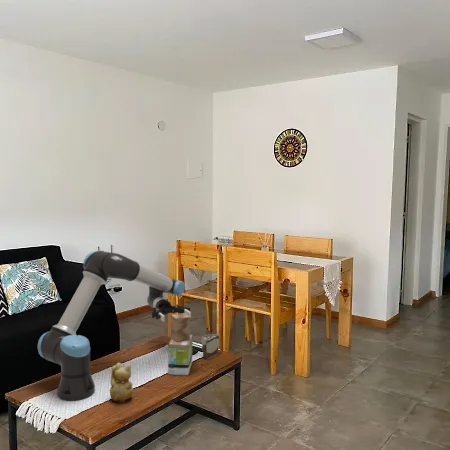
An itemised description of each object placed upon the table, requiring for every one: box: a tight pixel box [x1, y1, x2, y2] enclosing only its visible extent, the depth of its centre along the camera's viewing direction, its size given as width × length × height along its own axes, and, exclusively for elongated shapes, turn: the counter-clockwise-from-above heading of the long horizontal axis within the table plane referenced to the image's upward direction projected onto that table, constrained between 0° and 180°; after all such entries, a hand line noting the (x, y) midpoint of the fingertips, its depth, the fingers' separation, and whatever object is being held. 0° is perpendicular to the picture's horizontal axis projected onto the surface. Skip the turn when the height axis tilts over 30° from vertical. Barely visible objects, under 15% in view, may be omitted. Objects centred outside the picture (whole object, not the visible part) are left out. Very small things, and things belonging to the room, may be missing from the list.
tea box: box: [167, 334, 193, 376], centre depth 224 cm, size 15×10×15 cm, turn 178°
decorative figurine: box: [109, 362, 134, 403], centre depth 192 cm, size 10×8×15 cm
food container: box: [200, 333, 221, 360], centre depth 241 cm, size 12×6×10 cm, turn 144°
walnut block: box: [170, 313, 191, 342], centre depth 222 cm, size 7×7×11 cm
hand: (177, 317), depth 226 cm, fingers open, 13 cm apart
